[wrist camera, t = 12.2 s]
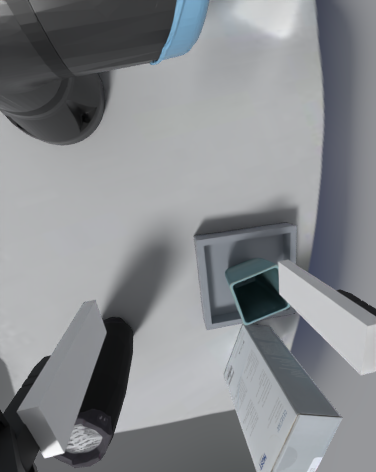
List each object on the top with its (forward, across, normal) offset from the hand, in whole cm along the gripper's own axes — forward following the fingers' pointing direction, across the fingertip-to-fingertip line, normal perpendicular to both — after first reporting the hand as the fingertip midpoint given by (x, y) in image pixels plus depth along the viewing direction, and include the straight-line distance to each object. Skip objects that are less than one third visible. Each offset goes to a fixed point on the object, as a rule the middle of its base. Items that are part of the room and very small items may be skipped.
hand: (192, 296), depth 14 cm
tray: (+25, +13, -14) cm, 31 cm away
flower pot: (+24, +12, -14) cm, 30 cm away
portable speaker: (+25, -17, -22) cm, 37 cm away
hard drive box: (+24, +12, -34) cm, 44 cm away
